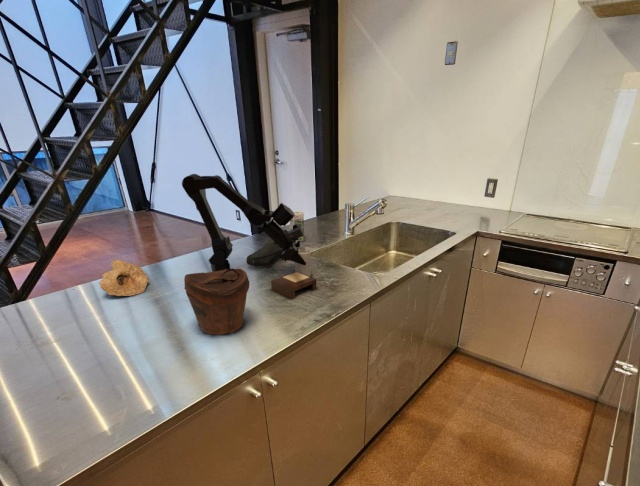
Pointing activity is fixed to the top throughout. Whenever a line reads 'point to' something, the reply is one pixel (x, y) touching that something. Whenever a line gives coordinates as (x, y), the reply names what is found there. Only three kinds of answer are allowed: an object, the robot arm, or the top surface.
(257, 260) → the loafer
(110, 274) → the tan lumpy piece
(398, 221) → the top surface
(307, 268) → the beverage can
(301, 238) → the syrup box
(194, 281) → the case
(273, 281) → the wooden display riser
